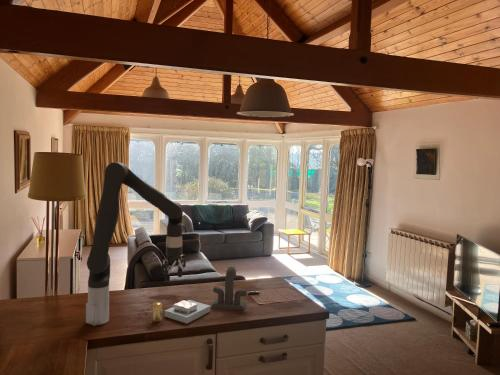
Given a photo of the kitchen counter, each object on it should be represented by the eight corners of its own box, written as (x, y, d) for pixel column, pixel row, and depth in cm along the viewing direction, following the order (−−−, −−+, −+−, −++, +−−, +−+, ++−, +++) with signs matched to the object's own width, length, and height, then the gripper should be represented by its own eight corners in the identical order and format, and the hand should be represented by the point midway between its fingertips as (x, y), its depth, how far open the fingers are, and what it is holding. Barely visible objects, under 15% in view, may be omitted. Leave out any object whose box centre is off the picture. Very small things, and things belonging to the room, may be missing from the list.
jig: (186, 323, 185) (187, 317, 185) (164, 316, 192) (164, 310, 192) (210, 311, 200) (210, 305, 200) (188, 305, 207) (189, 299, 207)
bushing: (157, 322, 185) (157, 305, 184) (151, 320, 187) (151, 304, 186) (163, 319, 188) (163, 303, 188) (157, 317, 190) (157, 301, 190)
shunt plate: (187, 313, 189) (187, 308, 189) (173, 309, 193) (173, 304, 193) (197, 308, 195) (197, 304, 195) (183, 304, 199) (183, 300, 199)
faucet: (248, 299, 219) (249, 264, 217) (245, 310, 203) (246, 272, 202) (216, 297, 221) (217, 262, 219) (210, 308, 205) (211, 270, 203)
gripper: (169, 249, 177) (169, 284, 178) (190, 243, 189) (189, 276, 190) (157, 246, 180) (157, 281, 182) (178, 241, 193) (177, 274, 194)
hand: (173, 279), depth 186 cm, fingers open, 8 cm apart
